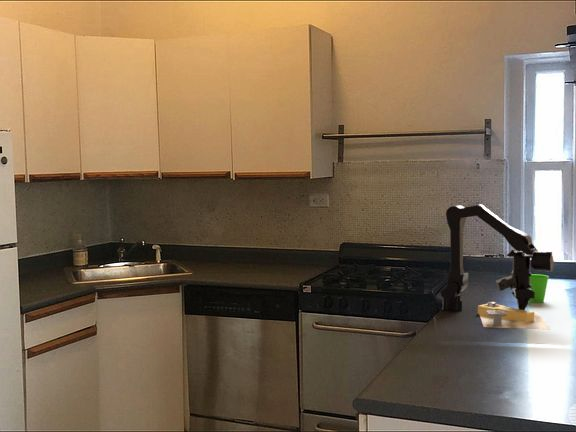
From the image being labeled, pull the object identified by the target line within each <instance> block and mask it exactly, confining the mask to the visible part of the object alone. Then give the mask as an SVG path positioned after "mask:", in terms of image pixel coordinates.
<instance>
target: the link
mask: <svg viewBox="0 0 576 432" xmlns="http://www.w3.org/2000/svg"><path fill="white" fill-rule="evenodd" d="M486 310H500V311H505V312H506V314H507V316H501V317H502V318H506V319H511V320H516V321H521V322H526V323H527V322H531V321H534V311H531V310H526V309H525V310H520V309H518V308H515V307H514V308H513V307H508V306H506V305H503V304H502V305H501V304H497V303H496V307H495V308H492V307H488V303H484V304H479V305H477V315H479V314H481V315H486V316H488V315H487V312H486ZM491 317H493V316H491Z"/></svg>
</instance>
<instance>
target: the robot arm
mask: <svg viewBox="0 0 576 432" xmlns="http://www.w3.org/2000/svg"><path fill="white" fill-rule="evenodd" d="M445 217H446V223H447V225H448V228H449V232H450V234H449V235H450V236H449V237H450V244H449V245H450V269H449V272H448V275H447V280H446V281H447V282H446V286H445V287H444V288H443V289H442V290H441V291H440V292H439V293H440V296H441V298H442V311H444V312H450V313H451V312H463V299H461V295H462V294H463V291H465V290H466V289H467V287H468V285H469V283H470V282H469V274H470V273H469V272H465V269H464V253H463V252H464V243H463V241H464V238H463V237H464V235H463V233H464V232H463V231H464V227H465V224H466V221H467V220H466V219H467V218H470V217H478V218H479V219H480V220H481V221H483V222H484V223H486V224H487V225H488V226H489V227H491V228H492V229H494V230H495V231H496V232H497V233H499V234H500V235H501V236H502V237H503V238H504V239H505V240H506V242H507V243H508V244H509V245H510V246H511V247H512V249H511V251H510V252H509V253H507V254H506V256H507V257H508V258H509V257H511V258H512V271H511V273H510V274H511V275H509V276H505V277H502V278H499V279H496V280H495V283H496V286H497V288H498V290H499V291H501V292H502V291H504V290H506V289H509V290H512V289H513V291H511V294H512V296H513V297H514V298H516V303H517V304H516V305H517V309H520V310H526V308H527V306H528V303H530V302H529V300H530V298H535V292H534V291H533V290H532V289H531V285H530V276H531V274H532V272H531V268H532V269H534V271H538V272H553V270H554V265H555V264H554V262H555V260H554V256H553V251H552V250H551V251H539V250H538V249H537V247H536V246H535V245H534V243H533V240H532V237H531V236H530V234H529V233H526V232H524V231H522V230H520V229H517V228H515V227H513V226H511V225H509V224H508V223H507V222H505V221H504V220H503V219H501V217H499V216H498V215H496V214H495V213H493V212H492V211H491V210H490V209H488V208H487V207H486V206H485V205H483V204H476V205H471V206H463V205H462V204H461V205H460V204H458V205H453V206H450V207H448V208H447V209H446V211H445Z"/></svg>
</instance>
